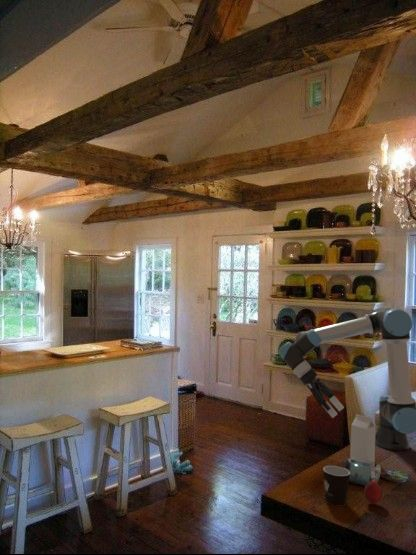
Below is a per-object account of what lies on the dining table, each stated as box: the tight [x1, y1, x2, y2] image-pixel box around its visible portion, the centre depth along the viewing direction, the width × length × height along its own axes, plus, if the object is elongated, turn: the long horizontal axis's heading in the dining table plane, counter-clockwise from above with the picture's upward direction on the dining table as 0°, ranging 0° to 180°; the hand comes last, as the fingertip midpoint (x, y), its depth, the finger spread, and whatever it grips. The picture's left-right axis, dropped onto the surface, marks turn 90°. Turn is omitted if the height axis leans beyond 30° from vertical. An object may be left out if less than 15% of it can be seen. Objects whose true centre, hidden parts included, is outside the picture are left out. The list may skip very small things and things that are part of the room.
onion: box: [363, 480, 384, 505], centre depth 145 cm, size 6×6×8 cm
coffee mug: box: [322, 465, 350, 506], centre depth 148 cm, size 12×9×10 cm
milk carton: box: [349, 413, 376, 463], centre depth 185 cm, size 7×7×19 cm
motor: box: [342, 458, 382, 486], centre depth 167 cm, size 19×12×8 cm, turn 152°
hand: (338, 412), depth 190 cm, fingers open, 13 cm apart
